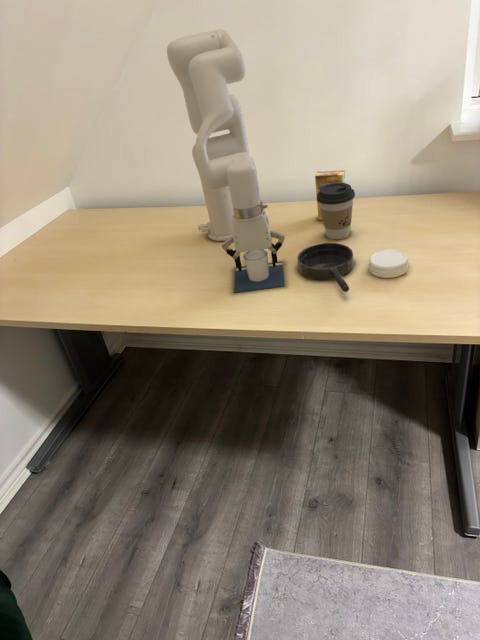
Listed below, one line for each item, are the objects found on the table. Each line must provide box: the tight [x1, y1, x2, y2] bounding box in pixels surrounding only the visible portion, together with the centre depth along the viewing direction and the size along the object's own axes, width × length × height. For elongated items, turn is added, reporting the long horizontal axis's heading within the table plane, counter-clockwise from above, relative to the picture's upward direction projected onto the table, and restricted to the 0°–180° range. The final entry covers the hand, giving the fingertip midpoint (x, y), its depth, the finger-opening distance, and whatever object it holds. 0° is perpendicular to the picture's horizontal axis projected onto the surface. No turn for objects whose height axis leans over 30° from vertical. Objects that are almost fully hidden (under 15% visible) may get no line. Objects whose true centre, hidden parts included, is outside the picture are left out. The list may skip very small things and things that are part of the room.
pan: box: [297, 242, 355, 281], centre depth 140 cm, size 15×15×4 cm
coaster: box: [368, 249, 409, 279], centre depth 133 cm, size 10×10×4 cm
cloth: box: [233, 260, 286, 294], centre depth 142 cm, size 14×14×1 cm
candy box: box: [314, 170, 346, 221], centre depth 162 cm, size 9×4×15 cm, turn 70°
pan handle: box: [330, 267, 350, 293], centre depth 128 cm, size 12×2×2 cm, turn 8°
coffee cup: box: [316, 182, 356, 241], centre depth 151 cm, size 11×11×15 cm
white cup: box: [242, 249, 269, 281], centre depth 140 cm, size 7×7×7 cm
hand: (257, 266), depth 140 cm, fingers open, 9 cm apart
